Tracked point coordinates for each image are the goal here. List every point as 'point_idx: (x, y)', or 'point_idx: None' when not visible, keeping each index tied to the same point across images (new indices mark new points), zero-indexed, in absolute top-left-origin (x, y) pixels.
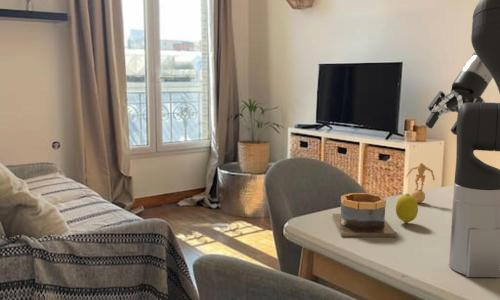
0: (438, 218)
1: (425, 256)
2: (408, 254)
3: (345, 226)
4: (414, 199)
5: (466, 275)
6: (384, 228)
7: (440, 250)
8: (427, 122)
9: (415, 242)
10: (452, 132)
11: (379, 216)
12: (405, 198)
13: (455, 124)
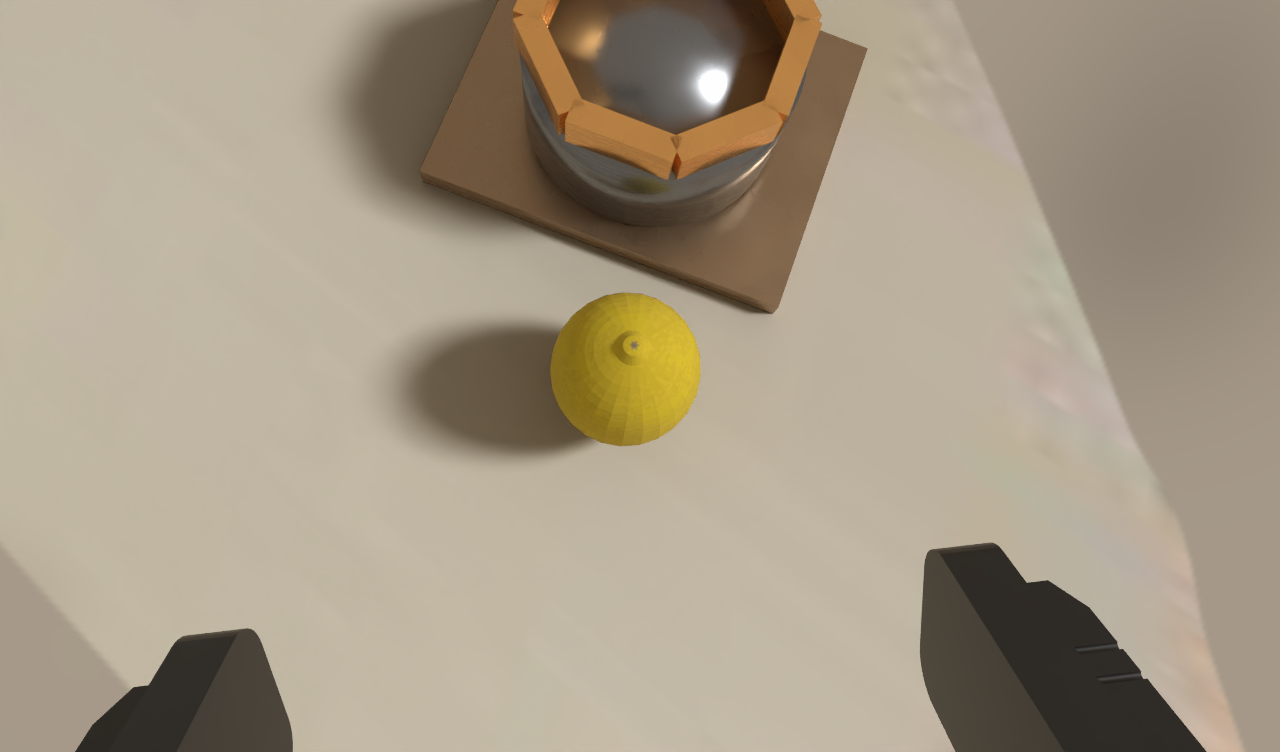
0: (646, 671)
1: (117, 139)
2: (177, 82)
3: None
4: (582, 381)
5: None
6: (515, 161)
7: (151, 266)
8: (968, 561)
9: (310, 225)
10: (261, 670)
11: (525, 98)
12: (604, 315)
13: (147, 748)
